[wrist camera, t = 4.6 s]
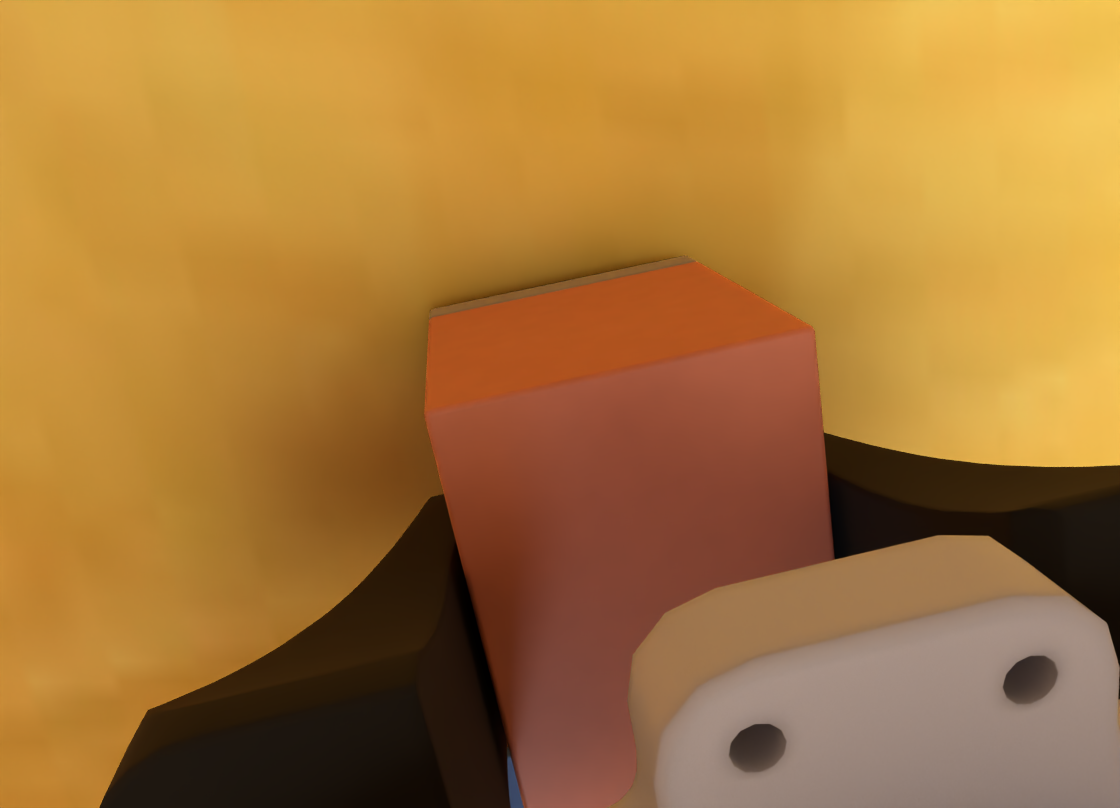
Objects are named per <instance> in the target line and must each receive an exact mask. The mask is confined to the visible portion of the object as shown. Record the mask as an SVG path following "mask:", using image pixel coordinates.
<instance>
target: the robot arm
mask: <svg viewBox="0 0 1120 808" xmlns="http://www.w3.org/2000/svg"><path fill="white" fill-rule="evenodd" d="M824 443H825V454H826V466H827V477H828V488H829V500H830V511H831V522H832V534H833V545H834V557H835V560H832V561H828V562H823V563H819V564H815V565H811V566H806V567H802V568H798V569H794V570H790V571H785V572H781V573H777V574H773V575H769V576H764V577H760V578H756V579H752V580H747V581H743V582H739V583H735V584H731V585H726V586H722V587H718V588H714V589H712V590H710V591H708V592H706V593H704V594H702V595H700V596H698V597H696V598H694V599H692V600H690V601H688V602H686V603H684V604H682V605H680V606H678V607H676V608H674V609H672V610H670V611H668V612H666V613H664V615H663V616H662V617H661V618H660V620H659V621H658V622H657V624H656V625H655V626H654V628H653V629H652V630H651V631H650V633H649V634H648V635H647V637H646V638H645V639H644V641H643V642H642V643H641V645H640V646H639V647H638V648H637V650H636V651H635V652H634V654H633V656H632V665H631V673H630V682H629V690H628V698H627V703H628V708H629V713H630V718H631V724H632V729H633V734H634V739H635V744H636V756H637V771H636V775H635V779H634V782H633V785H632V787H631V788H630V789H629V791H628V792H627V793H626V794H625V795H624V797H623V798H622V799H621V800H620V801H618V802H616V803H614V804H613V805H611V806H609V807H607V808H1120V465H1118V466H1094V467H1031V466H1005V465H992V464H979V463H971V462H963V461H954V460H946V459H938V458H932V457H926V456H920V455H915V454H910V453H905V452H900V451H895V450H891V449H886V448H881V447H877V446H873V445H869V444H865V443H861V442H857V441H853V440H849V439H845V438H841V437H838V436H834V435H830V434H827V433H824ZM100 808H511V805H510V797H509V783H508V765H507V740H506V736H505V732H504V728H503V724H502V720H501V716H500V712H499V708H498V704H497V700H496V696H495V693H494V689H493V685H492V681H491V677H490V673H489V669H488V665H487V661H486V657H485V653H484V649H483V645H482V641H481V638H480V634H479V630H478V626H477V622H476V618H475V614H474V610H473V606H472V602H471V598H470V594H469V590H468V587H467V583H466V579H465V575H464V571H463V567H462V563H461V559H460V555H459V551H458V547H457V543H456V539H455V536H454V532H453V528H452V524H451V520H450V516H449V512H448V508H447V504H446V500H445V496H444V494H443V495H438V496H434V497H431V498H430V499H429V500H428V501H427V503H426V504H425V505H424V507H423V508H422V509H421V511H420V512H419V514H418V515H417V516H416V518H415V519H414V521H413V522H412V523H411V525H410V526H409V527H408V529H407V530H406V531H405V533H404V534H403V535H402V536H401V538H400V539H399V540H398V542H397V543H396V544H395V546H394V547H393V548H392V549H391V550H390V551H389V553H388V554H387V555H386V556H385V557H384V558H383V559H382V560H381V562H380V563H379V564H378V565H377V566H376V567H375V568H374V569H373V571H372V572H371V573H370V574H369V575H368V576H367V577H366V578H365V579H364V580H363V581H362V582H361V583H360V584H359V585H358V586H357V587H356V588H355V589H354V590H353V591H352V592H351V593H350V594H349V595H348V596H347V597H346V598H344V599H343V600H342V601H341V602H340V603H339V604H337V605H336V606H335V607H334V608H333V609H332V610H330V611H329V612H328V613H327V614H325V615H324V616H323V617H322V618H320V619H319V620H317V621H316V622H314V623H313V624H312V625H310V626H309V627H307V628H306V629H304V630H303V631H302V632H300V633H299V634H297V635H296V636H294V637H293V638H292V639H290V640H289V641H287V642H286V643H284V644H283V645H281V646H280V647H278V648H277V649H275V650H273V651H272V652H270V653H268V654H266V655H265V656H263V657H261V658H260V659H258V660H256V661H255V662H253V663H251V664H249V665H247V666H245V667H243V668H241V669H239V670H238V671H236V672H234V673H232V674H230V675H228V676H226V677H224V678H222V679H220V680H218V681H216V682H214V683H211V684H209V685H207V686H204V687H202V688H200V689H198V690H195V691H193V692H191V693H188V694H186V695H184V696H181V697H179V698H177V699H174V700H172V701H170V702H167V703H165V704H163V705H160V706H157V707H155V708H152V709H150V710H148V711H147V713H146V715H145V716H144V718H143V720H142V722H141V723H140V725H139V727H138V729H137V731H136V733H135V735H134V737H133V738H132V740H131V742H130V744H129V746H128V748H127V750H126V752H125V754H124V756H123V759H122V761H121V763H120V765H119V767H118V769H117V771H116V773H115V775H114V777H113V779H112V781H111V784H110V786H109V788H108V790H107V792H106V794H105V796H104V798H103V801H102V803H101V805H100Z"/></svg>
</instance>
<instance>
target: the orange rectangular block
mask: <svg viewBox="0 0 1120 808" xmlns="http://www.w3.org/2000/svg"><path fill="white" fill-rule="evenodd" d="M424 418H425V422H426V426H427V430H428V433H429V437H430V441H431V445H432V449H433V453H434V457H435V461H436V465H437V469H438V473H439V477H440V481H441V484H442V488H443V492H444V496H445V500H446V504H447V508H448V512H449V516H450V520H451V524H452V528H453V532H454V536H455V539H456V543H457V547H458V551H459V555H460V559H461V563H462V567H463V571H464V575H465V579H466V583H467V587H468V590H469V594H470V598H471V602H472V606H473V610H474V614H475V618H476V622H477V626H478V630H479V634H480V638H481V641H482V645H483V649H484V653H485V657H486V661H487V665H488V669H489V673H490V677H491V681H492V685H493V689H494V693H495V696H496V700H497V704H498V708H499V712H500V716H501V720H502V724H503V728H504V732H505V736H506V740H507V744H508V747H509V751H510V755H511V759H512V763H513V767H514V771H515V775H516V779H517V783H518V787H519V791H520V795H521V799H522V802H523V806H524V808H607V807H609V806H611V805H613V804H614V803H616V802H618V801H620V800H621V799H622V798H623V797H624V795H625V794H626V793H627V792H628V791H629V789H630V788H631V787H632V785H633V782H634V779H635V775H636V771H637V756H636V744H635V739H634V734H633V729H632V724H631V718H630V713H629V708H628V703H627V698H628V690H629V682H630V673H631V665H632V656H633V654H634V652H635V651H636V650H637V648H638V647H639V646H640V645H641V643H642V642H643V641H644V639H645V638H646V637H647V635H648V634H649V633H650V631H651V630H652V629H653V628H654V626H655V625H656V624H657V622H658V621H659V620H660V618H661V617H662V616H663V615H664V613H666V612H668V611H670V610H672V609H674V608H676V607H678V606H680V605H682V604H684V603H686V602H688V601H690V600H692V599H694V598H696V597H698V596H700V595H702V594H704V593H706V592H708V591H710V590H712V589H714V588H718V587H722V586H726V585H731V584H735V583H739V582H743V581H747V580H752V579H756V578H760V577H764V576H769V575H773V574H777V573H781V572H785V571H790V570H794V569H798V568H802V567H806V566H811V565H815V564H819V563H823V562H828V561H832V560H835V557H834V545H833V534H832V522H831V511H830V500H829V488H828V477H827V466H826V454H825V443H824V431H823V420H822V409H821V397H820V386H819V374H818V363H817V352H816V340H815V331H814V329H813V327H812V326H810V325H809V324H807V323H805V322H803V321H801V320H800V319H798V318H796V317H794V316H793V315H791V314H789V313H787V312H786V311H784V310H782V309H780V308H779V307H777V306H775V305H773V304H771V303H770V302H768V301H766V300H764V299H763V298H761V297H759V296H757V295H756V294H754V293H752V292H750V291H749V290H747V289H745V288H743V287H741V286H740V285H738V284H736V283H734V282H733V281H731V280H729V279H727V278H726V277H724V276H722V275H720V274H719V273H717V272H715V271H713V270H711V269H710V268H708V267H706V266H704V265H703V264H701V263H699V262H696V261H695V260H694V259H692V258H690V257H688V256H681V257H676V258H671V259H667V260H662V261H657V262H652V263H648V264H643V265H638V266H634V267H629V268H624V269H619V270H615V271H610V272H605V273H600V274H596V275H591V276H586V277H581V278H577V279H572V280H567V281H563V282H558V283H553V284H548V285H544V286H539V287H534V288H529V289H525V290H520V291H515V292H510V293H506V294H501V295H496V296H491V297H487V298H482V299H477V300H473V301H468V302H463V303H458V304H454V305H449V306H444V307H439V308H435V309H432V310H431V311H430V314H429V332H428V351H427V371H426V391H425V410H424Z"/></svg>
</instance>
